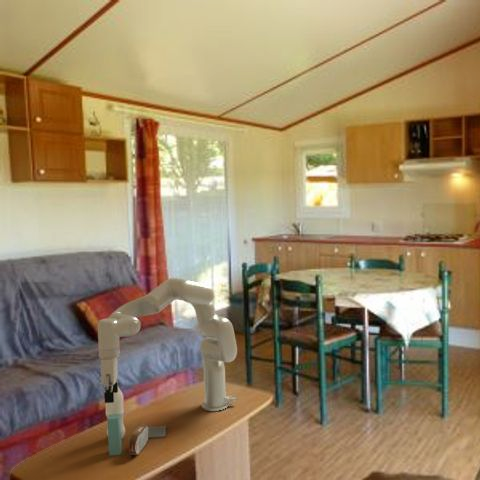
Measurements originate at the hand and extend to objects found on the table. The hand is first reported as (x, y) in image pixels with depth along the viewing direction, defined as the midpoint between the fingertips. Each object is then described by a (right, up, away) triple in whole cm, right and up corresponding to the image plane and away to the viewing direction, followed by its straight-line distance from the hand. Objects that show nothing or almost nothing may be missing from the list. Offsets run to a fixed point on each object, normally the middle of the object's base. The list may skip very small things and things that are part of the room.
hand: (111, 397), depth 197 cm
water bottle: (-1, -21, +14) cm, 25 cm away
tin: (+10, -21, +4) cm, 24 cm away
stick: (+1, -21, +2) cm, 22 cm away
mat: (+12, -20, +17) cm, 29 cm away
